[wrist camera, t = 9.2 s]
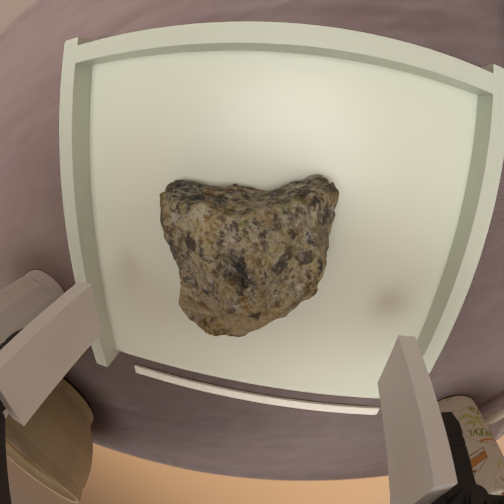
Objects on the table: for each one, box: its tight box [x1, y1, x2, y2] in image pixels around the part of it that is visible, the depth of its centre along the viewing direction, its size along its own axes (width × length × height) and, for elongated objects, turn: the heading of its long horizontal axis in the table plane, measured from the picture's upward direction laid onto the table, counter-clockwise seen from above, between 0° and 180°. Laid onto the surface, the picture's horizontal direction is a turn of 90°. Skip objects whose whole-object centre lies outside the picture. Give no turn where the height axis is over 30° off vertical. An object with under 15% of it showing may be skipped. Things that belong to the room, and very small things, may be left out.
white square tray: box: [59, 22, 504, 398], centre depth 15 cm, size 22×21×2 cm
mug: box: [438, 396, 504, 495], centre depth 14 cm, size 8×13×10 cm, turn 119°
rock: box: [160, 174, 339, 337], centre depth 13 cm, size 7×8×4 cm
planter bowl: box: [5, 378, 93, 503], centre depth 23 cm, size 16×16×11 cm
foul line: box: [134, 364, 379, 415], centre depth 21 cm, size 19×1×1 cm, turn 86°
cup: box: [0, 270, 65, 419], centre depth 16 cm, size 8×8×12 cm
